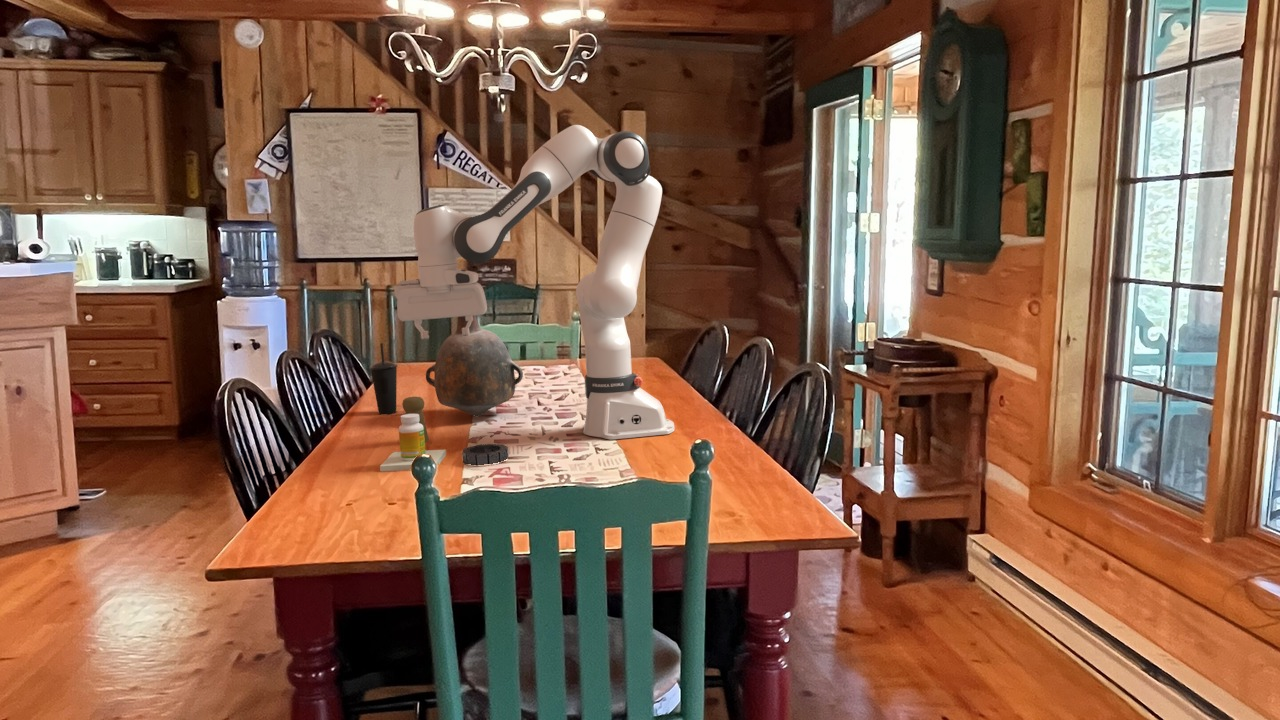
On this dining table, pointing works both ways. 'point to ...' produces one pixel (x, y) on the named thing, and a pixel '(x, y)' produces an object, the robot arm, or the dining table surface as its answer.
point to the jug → (473, 370)
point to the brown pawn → (416, 410)
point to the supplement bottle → (411, 437)
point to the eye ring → (485, 454)
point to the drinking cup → (385, 384)
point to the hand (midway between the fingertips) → (445, 337)
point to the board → (398, 464)
